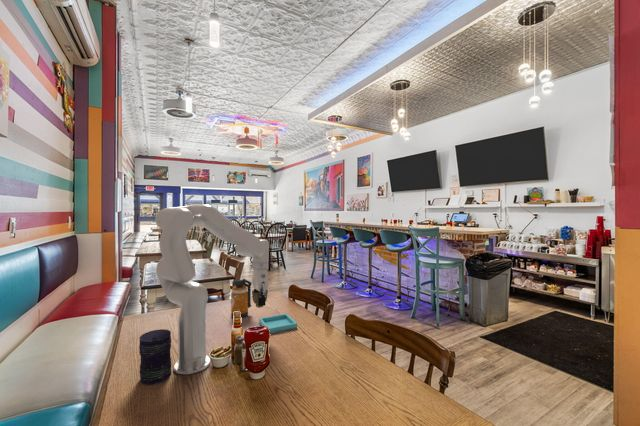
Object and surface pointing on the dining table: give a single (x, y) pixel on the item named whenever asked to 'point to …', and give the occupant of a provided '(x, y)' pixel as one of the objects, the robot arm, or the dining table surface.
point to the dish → (278, 323)
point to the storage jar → (155, 356)
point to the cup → (255, 297)
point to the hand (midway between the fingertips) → (259, 303)
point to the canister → (241, 297)
